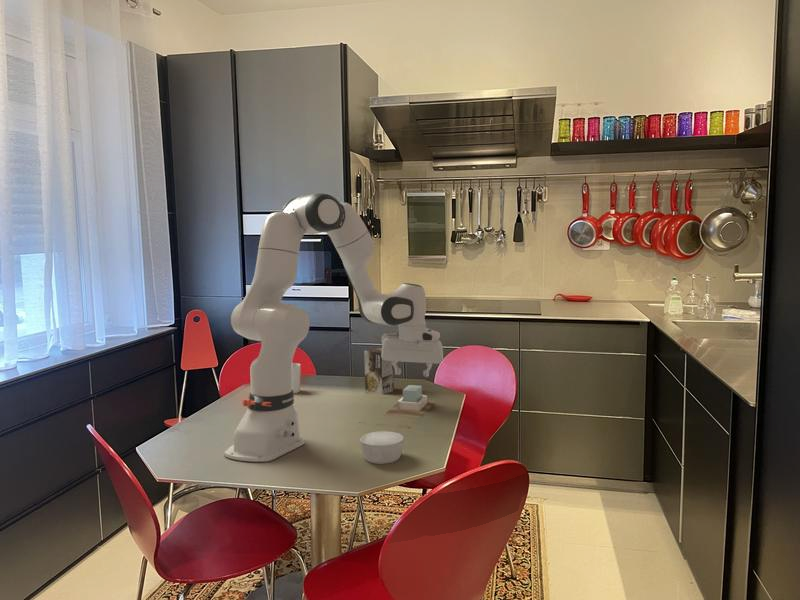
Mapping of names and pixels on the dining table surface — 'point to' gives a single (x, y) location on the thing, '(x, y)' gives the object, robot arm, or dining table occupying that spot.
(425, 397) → the socket
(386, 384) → the coffee box
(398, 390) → the dining table surface
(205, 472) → the dining table surface
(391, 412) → the walnut board
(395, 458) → the ramekin
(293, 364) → the drinking glass
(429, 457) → the dining table surface
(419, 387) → the keyed plug
